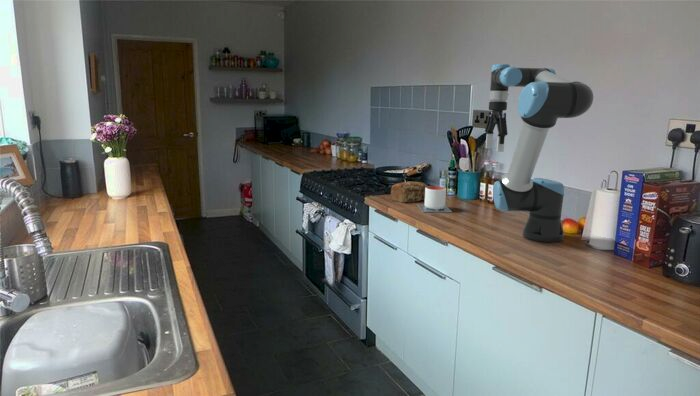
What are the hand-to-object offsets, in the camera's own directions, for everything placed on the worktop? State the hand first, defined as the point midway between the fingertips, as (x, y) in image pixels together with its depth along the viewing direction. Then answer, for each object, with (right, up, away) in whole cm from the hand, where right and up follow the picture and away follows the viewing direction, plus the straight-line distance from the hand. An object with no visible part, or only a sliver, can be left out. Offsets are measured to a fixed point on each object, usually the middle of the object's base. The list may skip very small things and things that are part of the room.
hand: (494, 150), depth 208 cm
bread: (-32, -22, +44) cm, 59 cm away
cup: (-22, -26, +23) cm, 41 cm away
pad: (-22, -27, +23) cm, 42 cm away
